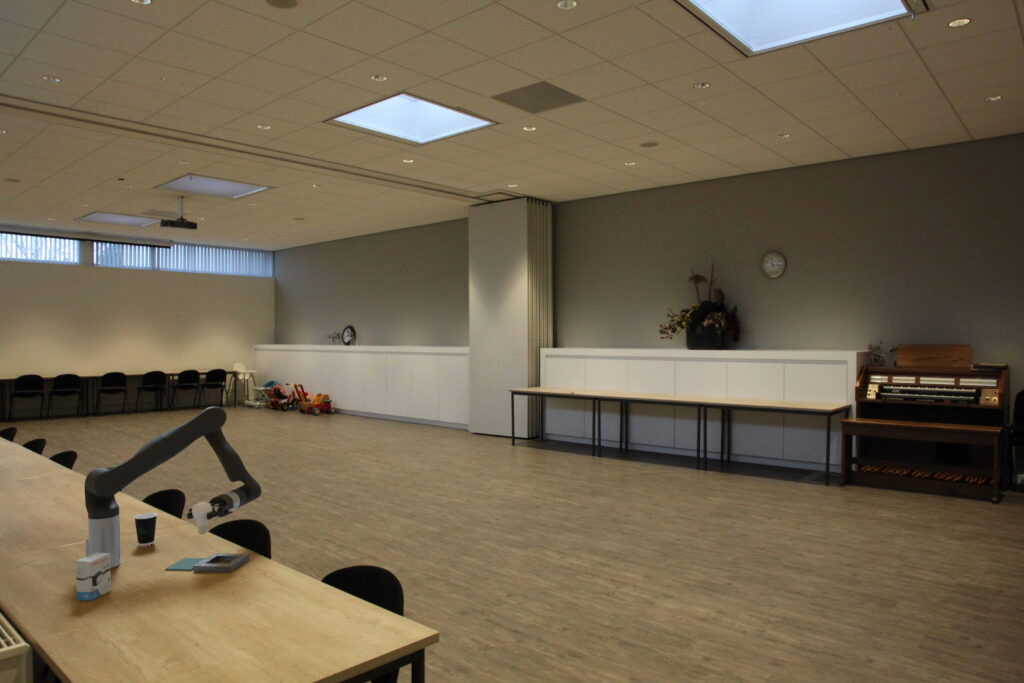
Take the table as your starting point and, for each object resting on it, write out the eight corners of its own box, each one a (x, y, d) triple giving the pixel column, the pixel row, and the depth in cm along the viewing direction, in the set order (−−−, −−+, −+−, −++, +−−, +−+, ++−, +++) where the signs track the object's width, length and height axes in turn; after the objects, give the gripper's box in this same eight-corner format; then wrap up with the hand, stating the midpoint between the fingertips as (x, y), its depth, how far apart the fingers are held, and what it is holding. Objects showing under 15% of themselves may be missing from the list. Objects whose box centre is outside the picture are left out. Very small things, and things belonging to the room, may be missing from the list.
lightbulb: (196, 531, 236) (196, 499, 236) (215, 530, 236) (215, 499, 236) (189, 537, 230) (188, 504, 229) (208, 536, 230) (208, 503, 230)
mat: (165, 570, 229) (165, 568, 229) (184, 559, 240) (184, 557, 240) (190, 570, 228) (190, 569, 228) (208, 559, 239) (208, 558, 239)
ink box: (89, 601, 203) (89, 561, 203) (75, 600, 204) (75, 560, 204) (112, 590, 211) (111, 552, 211) (98, 589, 212) (97, 551, 212)
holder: (193, 571, 227) (193, 565, 227) (214, 558, 240) (214, 553, 240) (230, 572, 226) (230, 566, 226) (249, 559, 239) (249, 554, 239)
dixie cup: (155, 539, 264) (154, 511, 264) (160, 544, 258) (159, 515, 257) (132, 544, 259) (131, 515, 259) (136, 549, 253) (136, 519, 252)
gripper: (205, 493, 248) (178, 504, 231) (243, 494, 246) (218, 505, 230) (205, 513, 248) (178, 527, 231) (243, 514, 246) (218, 528, 230)
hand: (198, 516), depth 231 cm, fingers closed on lightbulb, 6 cm apart
